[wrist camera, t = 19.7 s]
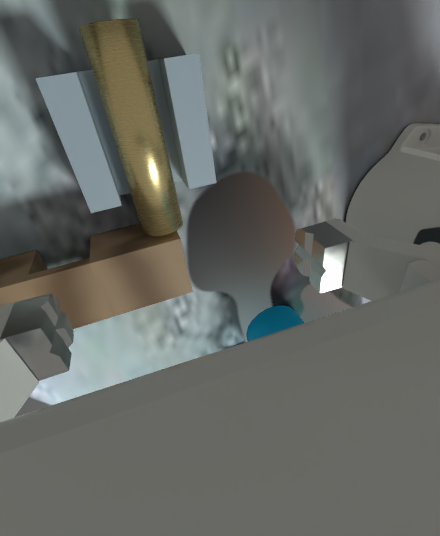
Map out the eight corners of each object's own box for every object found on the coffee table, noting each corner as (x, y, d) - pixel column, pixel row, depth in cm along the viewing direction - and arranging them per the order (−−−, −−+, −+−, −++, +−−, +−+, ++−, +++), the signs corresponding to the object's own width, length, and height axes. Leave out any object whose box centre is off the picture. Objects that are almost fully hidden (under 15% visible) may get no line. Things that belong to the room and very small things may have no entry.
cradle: (186, 54, 23) (198, 53, 20) (204, 171, 28) (216, 182, 25) (43, 76, 21) (35, 78, 18) (92, 197, 26) (90, 213, 23)
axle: (136, 23, 20) (140, 16, 17) (178, 212, 28) (186, 229, 25) (81, 30, 19) (76, 24, 17) (141, 222, 28) (144, 240, 25)
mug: (282, 295, 41) (316, 337, 35) (305, 323, 46) (338, 364, 40) (215, 347, 42) (235, 398, 36) (244, 369, 47) (266, 416, 41)
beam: (169, 215, 29) (180, 238, 26) (181, 264, 33) (192, 291, 29) (-57, 274, 26) (-86, 311, 22) (-17, 322, 29) (-34, 362, 25)
